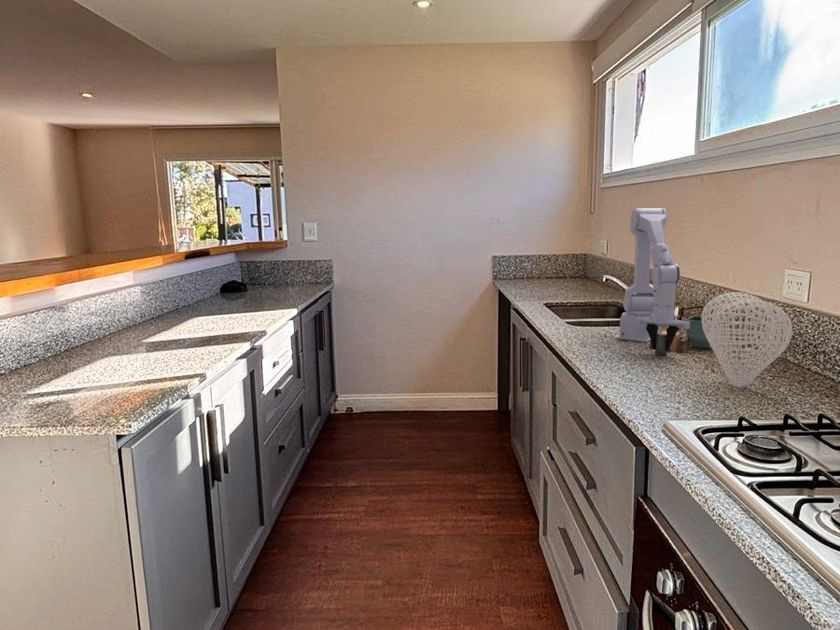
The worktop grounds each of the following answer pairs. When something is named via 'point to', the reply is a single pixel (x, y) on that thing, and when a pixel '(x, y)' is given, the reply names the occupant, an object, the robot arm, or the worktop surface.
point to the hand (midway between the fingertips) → (661, 349)
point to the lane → (681, 343)
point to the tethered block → (661, 343)
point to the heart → (769, 335)
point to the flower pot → (698, 332)
